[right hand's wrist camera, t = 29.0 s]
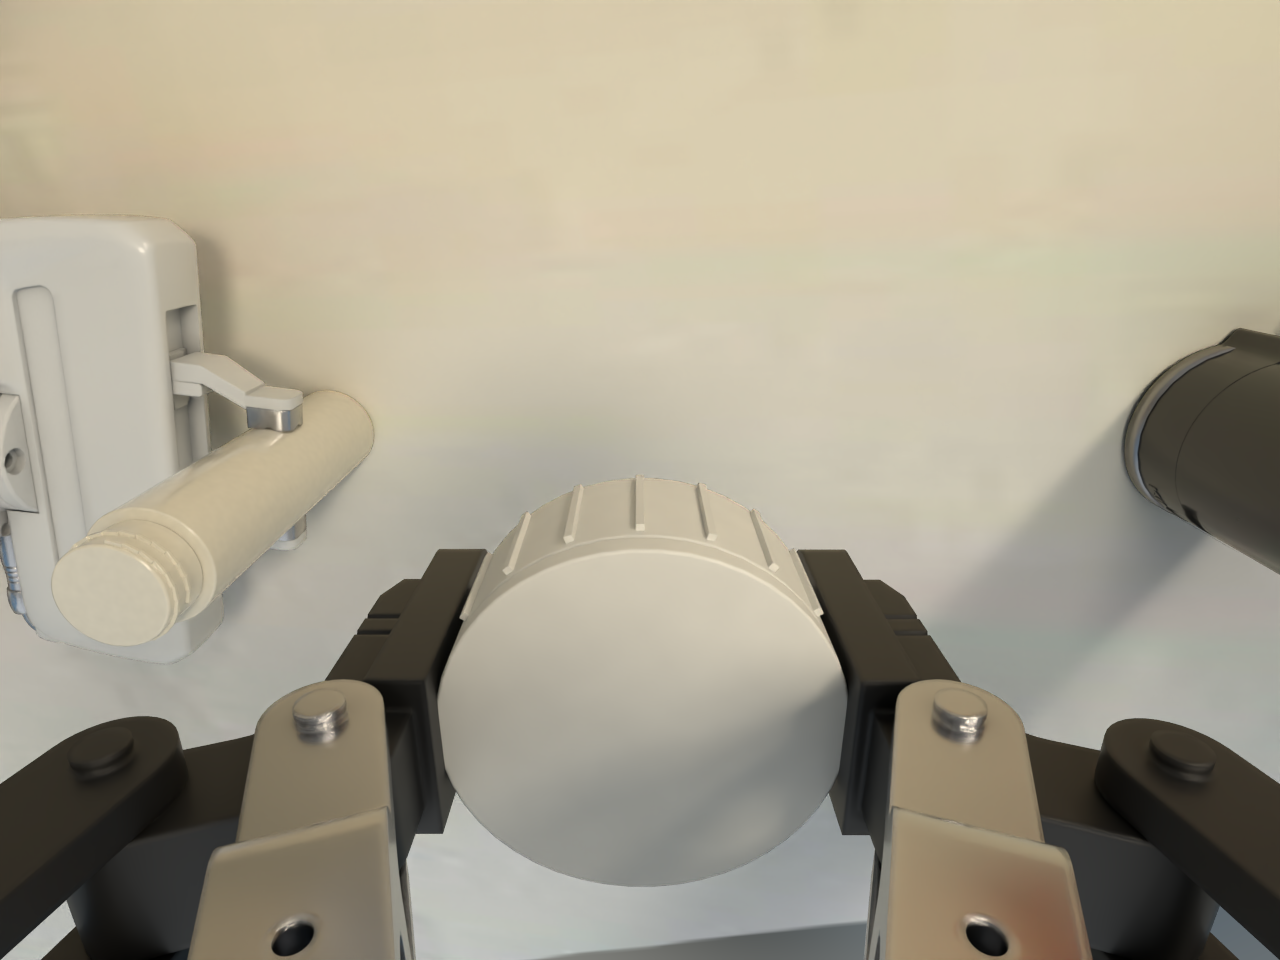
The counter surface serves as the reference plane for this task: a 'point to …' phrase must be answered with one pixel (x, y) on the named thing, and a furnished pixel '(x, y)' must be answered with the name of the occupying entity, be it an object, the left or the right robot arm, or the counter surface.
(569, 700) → the lid
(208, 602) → the beige canister
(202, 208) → the counter surface
